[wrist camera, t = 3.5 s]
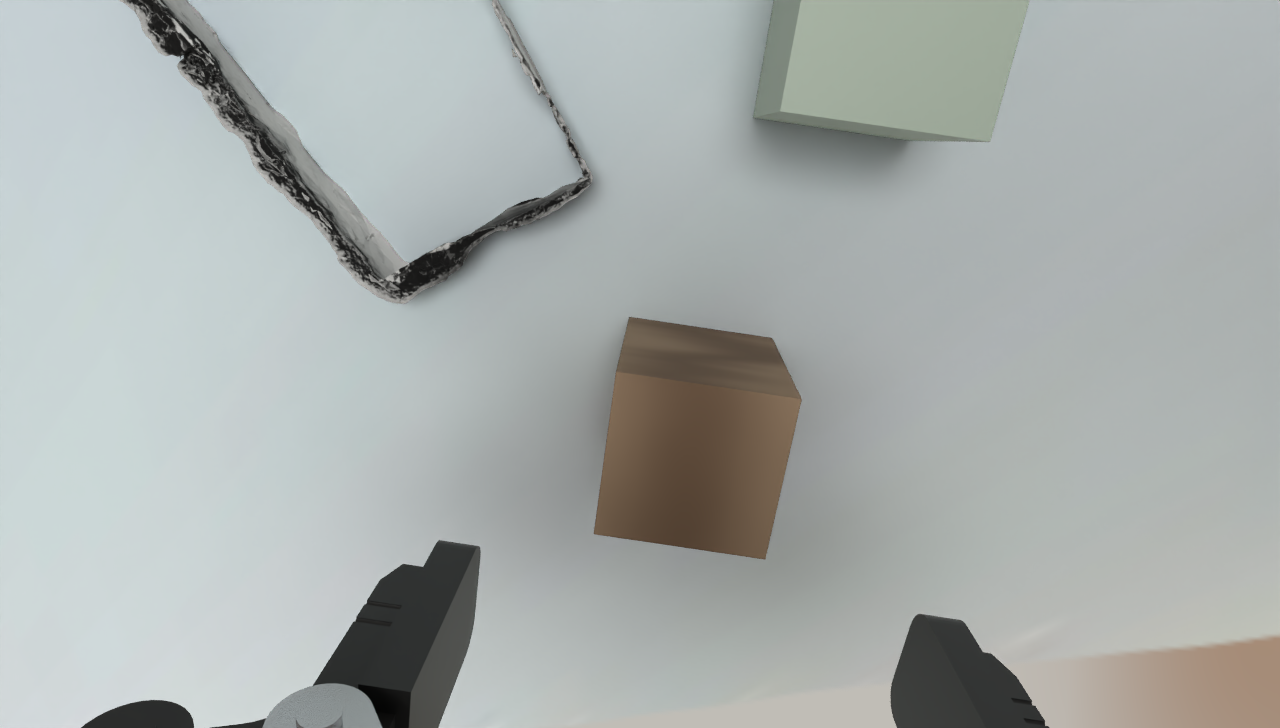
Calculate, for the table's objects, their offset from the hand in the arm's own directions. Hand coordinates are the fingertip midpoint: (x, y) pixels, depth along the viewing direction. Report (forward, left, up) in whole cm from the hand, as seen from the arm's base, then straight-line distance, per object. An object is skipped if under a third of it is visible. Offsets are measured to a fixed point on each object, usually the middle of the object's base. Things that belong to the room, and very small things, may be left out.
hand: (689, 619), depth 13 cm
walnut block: (0, 0, -13) cm, 13 cm away
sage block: (-3, -12, -13) cm, 18 cm away
